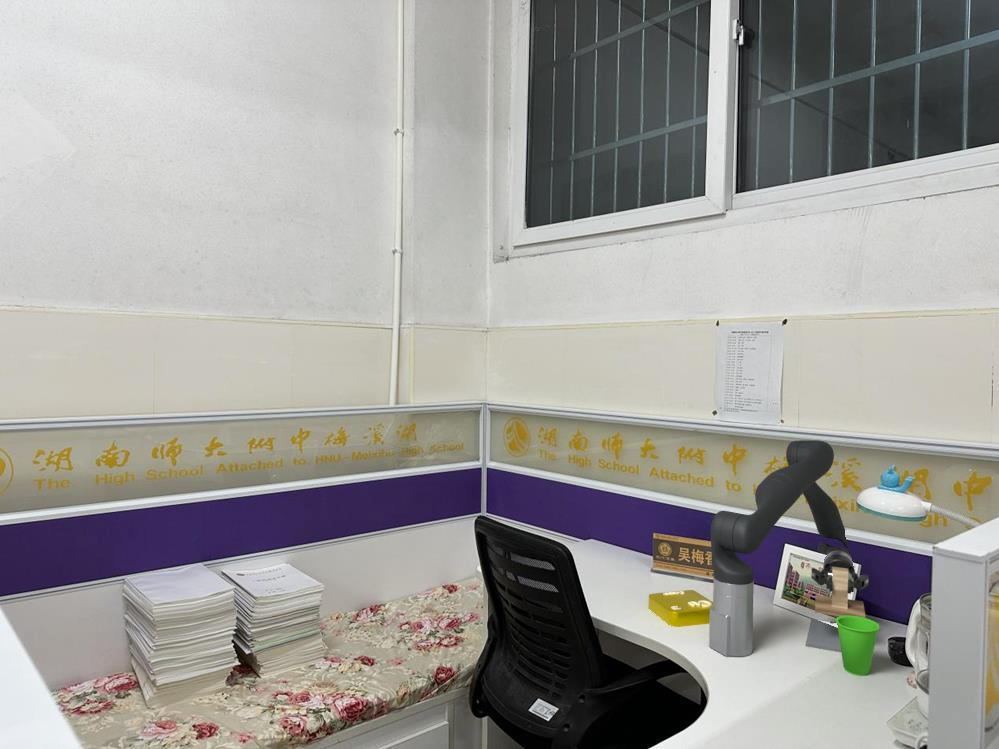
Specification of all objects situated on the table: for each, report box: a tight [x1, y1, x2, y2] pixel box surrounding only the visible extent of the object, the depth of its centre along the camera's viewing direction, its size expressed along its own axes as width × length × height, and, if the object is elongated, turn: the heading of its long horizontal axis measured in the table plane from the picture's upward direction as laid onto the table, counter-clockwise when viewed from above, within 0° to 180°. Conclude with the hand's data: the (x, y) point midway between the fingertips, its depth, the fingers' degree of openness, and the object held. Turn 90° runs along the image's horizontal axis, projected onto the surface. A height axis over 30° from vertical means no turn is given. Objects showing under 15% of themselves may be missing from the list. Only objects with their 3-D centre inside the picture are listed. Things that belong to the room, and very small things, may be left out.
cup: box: [834, 615, 881, 677], centre depth 160 cm, size 9×9×11 cm
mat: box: [805, 618, 841, 653], centre depth 178 cm, size 18×13×1 cm
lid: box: [814, 567, 866, 618], centre depth 176 cm, size 11×11×10 cm
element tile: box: [648, 589, 713, 628], centre depth 193 cm, size 15×15×5 cm
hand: (840, 588), depth 173 cm, fingers closed on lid, 3 cm apart
